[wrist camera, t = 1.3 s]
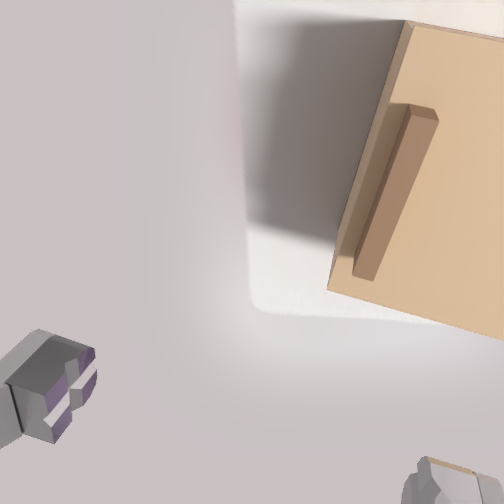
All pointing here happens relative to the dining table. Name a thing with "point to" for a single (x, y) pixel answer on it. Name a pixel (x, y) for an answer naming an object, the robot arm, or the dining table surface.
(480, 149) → the lid
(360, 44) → the dining table surface
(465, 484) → the robot arm
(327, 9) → the dining table surface
